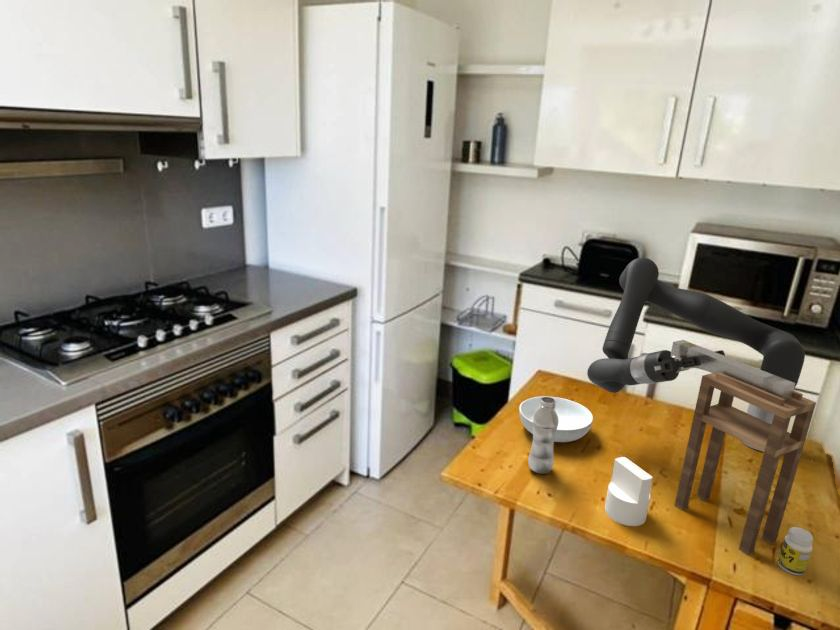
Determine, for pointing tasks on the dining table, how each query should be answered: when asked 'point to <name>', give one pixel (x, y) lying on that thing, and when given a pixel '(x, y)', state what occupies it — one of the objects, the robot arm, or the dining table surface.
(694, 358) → the robot arm
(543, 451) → the plastic bottle
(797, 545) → the supplement bottle
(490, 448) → the dining table surface
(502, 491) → the dining table surface
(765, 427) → the walnut shelf
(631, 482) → the base with upright slab
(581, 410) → the serving bowl
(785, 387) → the bar
